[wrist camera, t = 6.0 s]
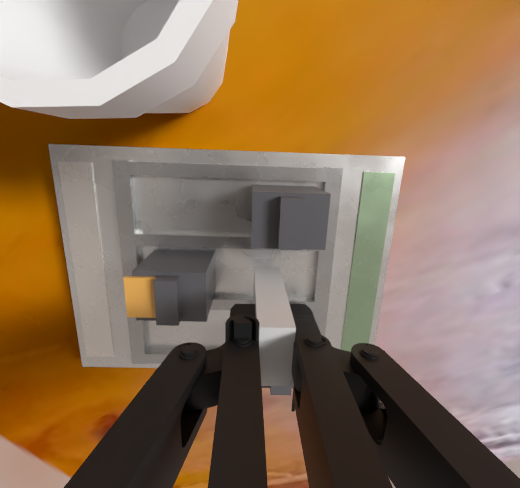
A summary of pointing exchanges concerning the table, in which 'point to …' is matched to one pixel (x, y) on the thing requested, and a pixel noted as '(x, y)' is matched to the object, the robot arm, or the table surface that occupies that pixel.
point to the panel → (216, 239)
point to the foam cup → (112, 55)
